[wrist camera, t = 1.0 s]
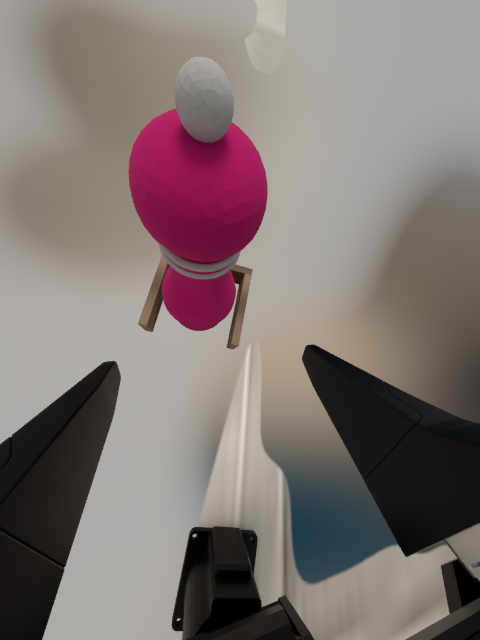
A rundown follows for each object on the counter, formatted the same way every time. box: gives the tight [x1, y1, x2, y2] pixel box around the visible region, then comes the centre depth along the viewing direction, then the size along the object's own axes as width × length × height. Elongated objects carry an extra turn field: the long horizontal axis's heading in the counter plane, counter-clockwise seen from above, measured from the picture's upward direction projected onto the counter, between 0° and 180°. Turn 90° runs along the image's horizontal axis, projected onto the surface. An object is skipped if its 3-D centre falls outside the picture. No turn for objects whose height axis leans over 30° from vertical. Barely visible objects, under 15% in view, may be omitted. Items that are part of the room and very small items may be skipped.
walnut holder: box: [138, 255, 252, 349], centre depth 23 cm, size 9×10×3 cm
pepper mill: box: [129, 57, 267, 331], centre depth 15 cm, size 7×7×20 cm
